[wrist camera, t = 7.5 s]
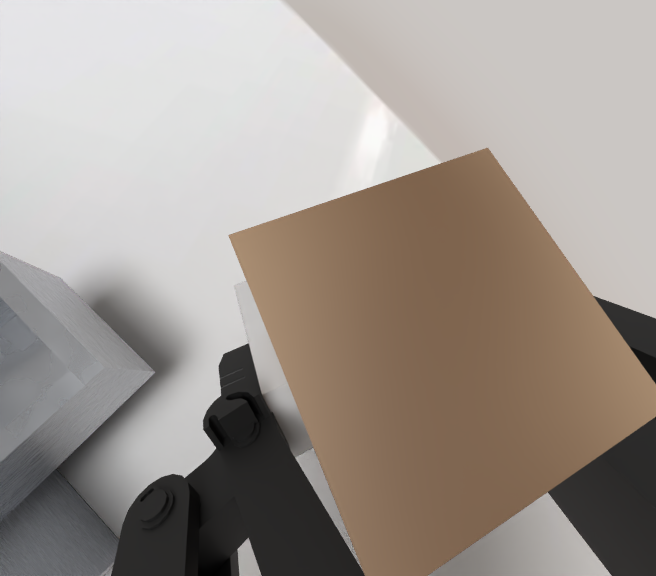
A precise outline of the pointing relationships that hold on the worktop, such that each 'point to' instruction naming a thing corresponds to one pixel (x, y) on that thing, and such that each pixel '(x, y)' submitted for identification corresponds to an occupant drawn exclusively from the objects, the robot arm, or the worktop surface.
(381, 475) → the post
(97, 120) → the worktop surface
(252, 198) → the worktop surface
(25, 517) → the cup bracket
